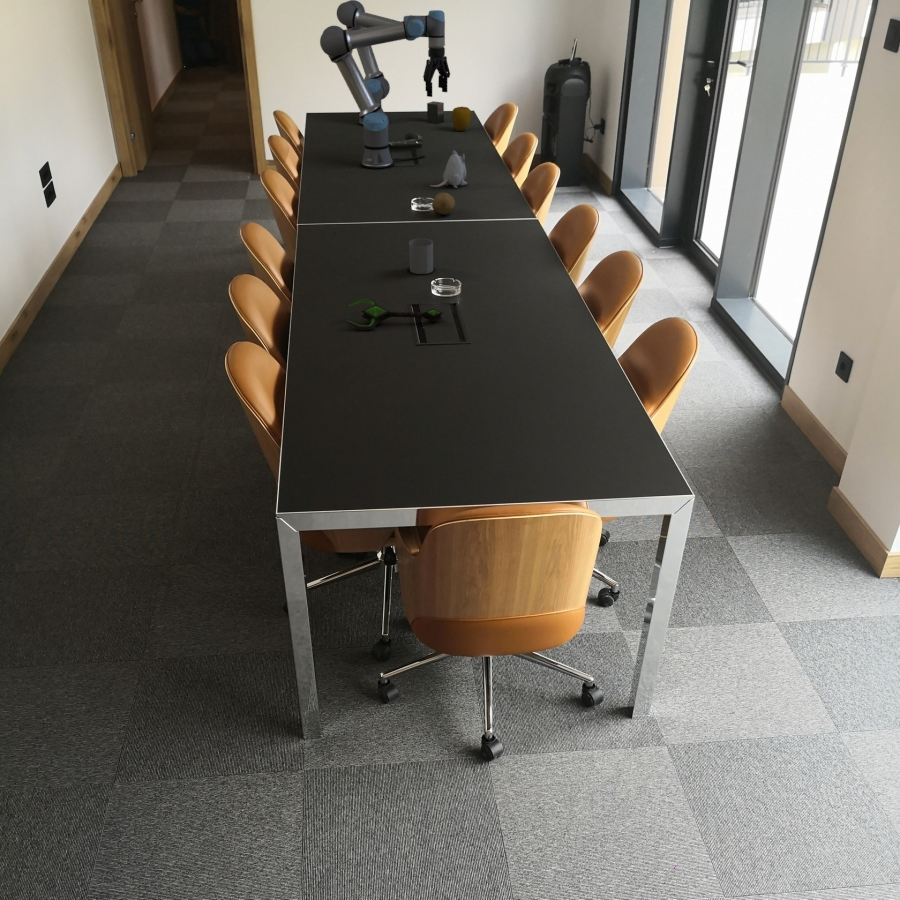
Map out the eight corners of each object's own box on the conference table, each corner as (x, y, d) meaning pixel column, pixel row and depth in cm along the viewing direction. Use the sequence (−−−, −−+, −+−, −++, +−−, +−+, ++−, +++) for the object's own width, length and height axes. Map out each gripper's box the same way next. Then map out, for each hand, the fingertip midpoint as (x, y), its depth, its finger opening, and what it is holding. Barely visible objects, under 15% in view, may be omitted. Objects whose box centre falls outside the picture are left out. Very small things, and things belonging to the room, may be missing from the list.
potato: (453, 208, 369) (453, 189, 365) (456, 218, 357) (456, 199, 353) (431, 208, 368) (430, 189, 364) (432, 218, 356) (432, 199, 352)
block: (433, 120, 514) (433, 101, 508) (443, 121, 510) (443, 102, 505) (427, 122, 509) (427, 103, 503) (437, 123, 506) (437, 104, 500)
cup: (409, 265, 311) (408, 238, 306) (432, 265, 312) (431, 238, 307) (410, 274, 304) (409, 246, 299) (433, 273, 305) (433, 246, 299)
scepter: (442, 294, 271) (346, 291, 269) (443, 324, 264) (344, 322, 262) (441, 307, 276) (346, 304, 274) (442, 337, 269) (345, 335, 267)
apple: (471, 132, 486) (471, 108, 479) (451, 132, 486) (451, 108, 479) (470, 128, 495) (471, 104, 488) (452, 128, 495) (452, 104, 488)
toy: (472, 184, 399) (472, 151, 391) (436, 195, 384) (436, 161, 376) (457, 180, 404) (458, 147, 396) (422, 191, 389) (421, 157, 381)
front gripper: (444, 43, 423) (444, 89, 435) (415, 49, 405) (416, 97, 417) (457, 44, 420) (457, 90, 431) (429, 50, 402) (429, 99, 413)
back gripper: (441, 46, 499) (440, 85, 511) (417, 51, 481) (416, 91, 493) (452, 47, 496) (451, 87, 507) (428, 52, 478) (427, 93, 490)
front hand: (437, 94), depth 424 cm, fingers open, 13 cm apart
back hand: (434, 89), depth 500 cm, fingers open, 13 cm apart
